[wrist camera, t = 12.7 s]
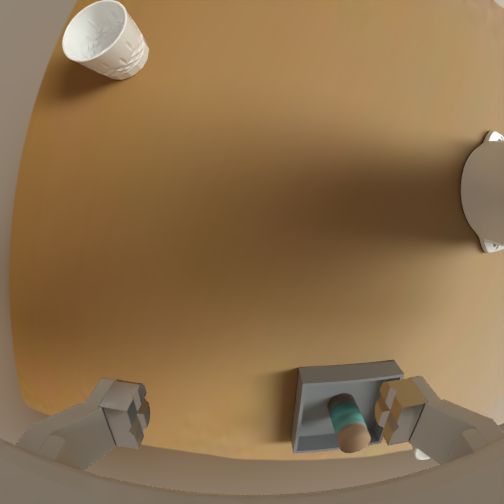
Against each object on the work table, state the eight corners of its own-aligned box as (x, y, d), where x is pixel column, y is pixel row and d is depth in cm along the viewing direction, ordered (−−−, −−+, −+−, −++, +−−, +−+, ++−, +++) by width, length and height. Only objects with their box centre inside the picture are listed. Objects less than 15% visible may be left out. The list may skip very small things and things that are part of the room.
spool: (356, 391, 43) (374, 429, 34) (352, 412, 44) (367, 450, 35) (328, 394, 43) (342, 434, 34) (325, 415, 44) (336, 455, 35)
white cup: (161, 65, 33) (135, 34, 23) (108, 95, 33) (69, 75, 24) (143, 23, 31) (117, -12, 21) (93, 52, 32) (57, 26, 22)
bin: (393, 360, 42) (404, 374, 38) (373, 427, 46) (380, 442, 42) (298, 367, 42) (302, 383, 38) (290, 436, 46) (293, 453, 42)
